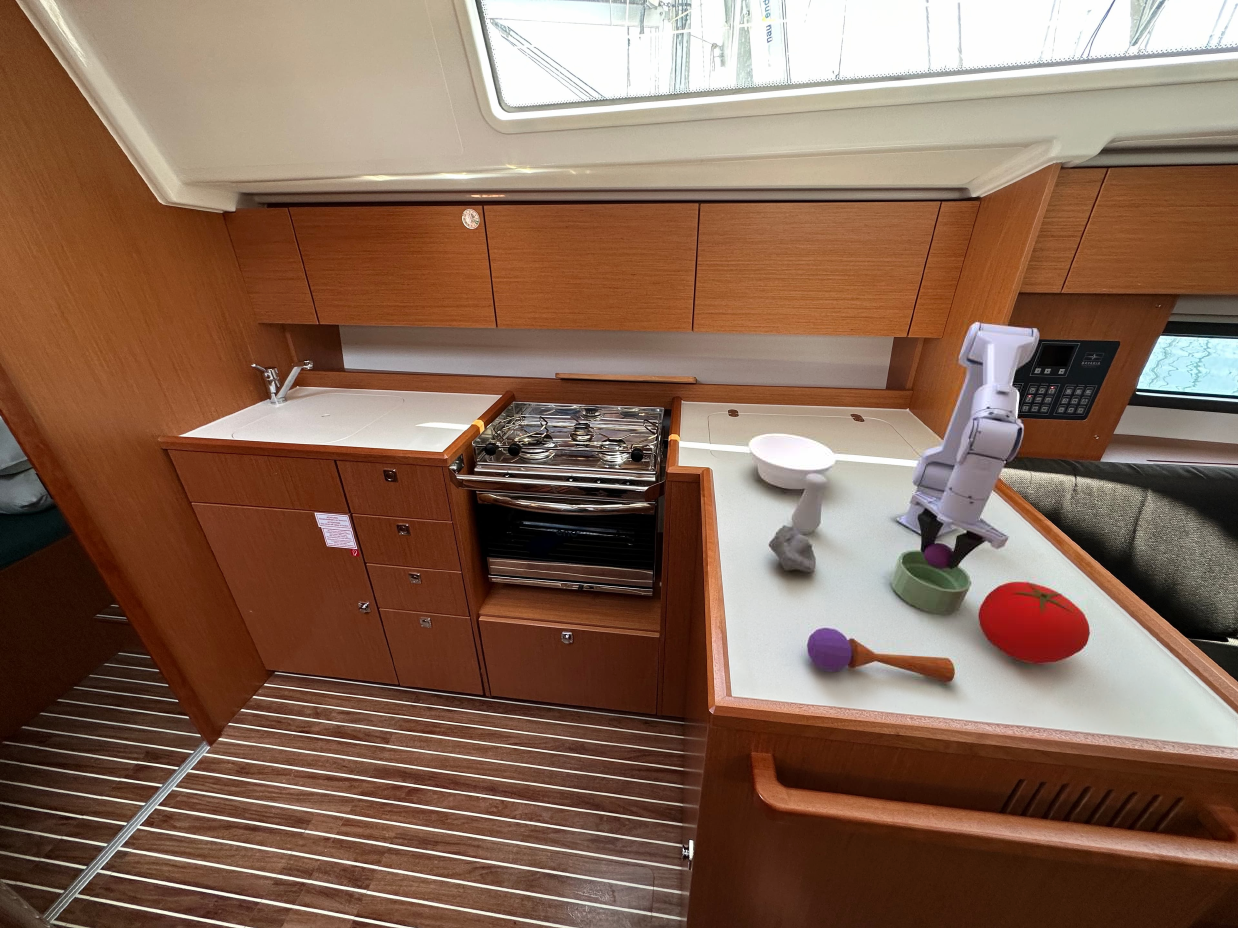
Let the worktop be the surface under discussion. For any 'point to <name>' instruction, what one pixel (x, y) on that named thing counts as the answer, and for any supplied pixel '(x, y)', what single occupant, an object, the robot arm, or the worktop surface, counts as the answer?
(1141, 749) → the worktop surface
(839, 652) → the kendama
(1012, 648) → the tomato
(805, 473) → the bowl
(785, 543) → the grey rock
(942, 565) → the ball
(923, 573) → the green bowl
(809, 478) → the salt shaker
